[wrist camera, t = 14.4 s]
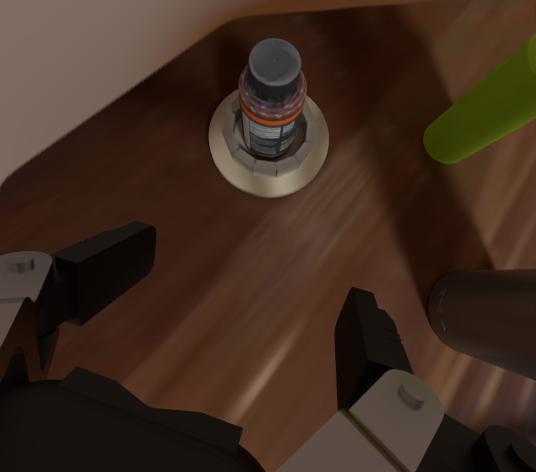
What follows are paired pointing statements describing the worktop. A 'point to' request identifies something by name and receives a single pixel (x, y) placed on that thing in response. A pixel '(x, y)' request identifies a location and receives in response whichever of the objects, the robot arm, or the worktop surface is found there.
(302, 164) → the collar plate
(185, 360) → the worktop surface
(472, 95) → the soap dispenser
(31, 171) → the worktop surface
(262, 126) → the supplement bottle
